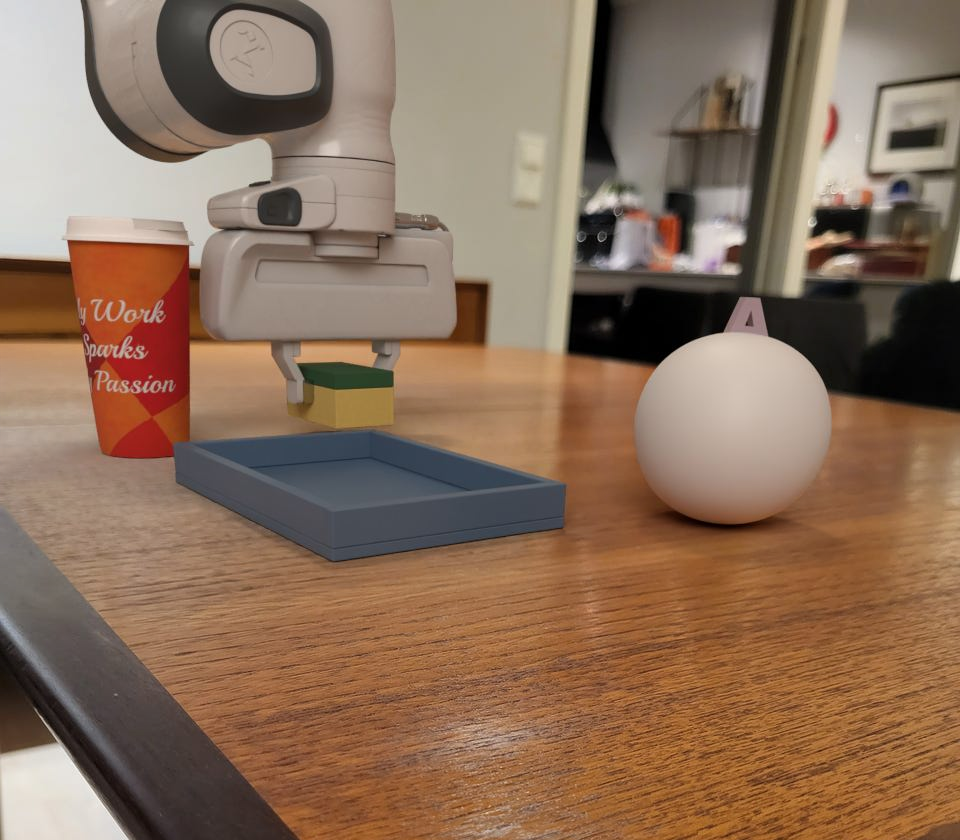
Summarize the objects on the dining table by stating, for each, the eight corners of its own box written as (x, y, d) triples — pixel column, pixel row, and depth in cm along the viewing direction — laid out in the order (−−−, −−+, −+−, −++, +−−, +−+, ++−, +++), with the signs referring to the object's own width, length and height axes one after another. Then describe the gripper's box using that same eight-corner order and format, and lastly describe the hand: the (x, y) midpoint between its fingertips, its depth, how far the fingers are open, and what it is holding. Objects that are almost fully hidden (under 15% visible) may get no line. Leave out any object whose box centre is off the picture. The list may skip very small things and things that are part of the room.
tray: (175, 481, 61) (172, 442, 60) (374, 464, 69) (374, 428, 68) (332, 562, 46) (332, 511, 45) (563, 527, 54) (567, 483, 53)
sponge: (287, 415, 79) (285, 363, 78) (342, 411, 82) (341, 361, 81) (336, 429, 74) (335, 373, 72) (394, 424, 76) (394, 370, 75)
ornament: (725, 495, 63) (750, 295, 59) (853, 534, 55) (893, 304, 51) (592, 508, 58) (609, 291, 54) (710, 552, 50) (742, 300, 46)
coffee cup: (56, 454, 68) (30, 213, 62) (130, 437, 75) (112, 220, 70) (164, 465, 65) (146, 217, 60) (229, 446, 73) (218, 224, 68)
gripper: (430, 216, 81) (427, 391, 86) (184, 199, 69) (197, 402, 74) (475, 215, 76) (470, 400, 81) (219, 196, 65) (231, 413, 70)
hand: (337, 401), depth 78 cm, fingers closed on sponge, 5 cm apart
